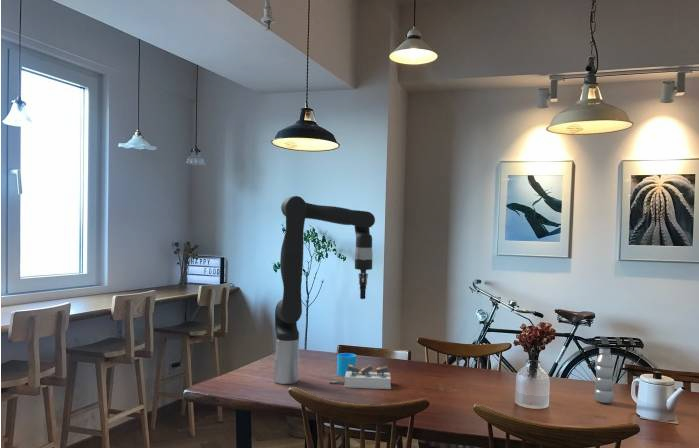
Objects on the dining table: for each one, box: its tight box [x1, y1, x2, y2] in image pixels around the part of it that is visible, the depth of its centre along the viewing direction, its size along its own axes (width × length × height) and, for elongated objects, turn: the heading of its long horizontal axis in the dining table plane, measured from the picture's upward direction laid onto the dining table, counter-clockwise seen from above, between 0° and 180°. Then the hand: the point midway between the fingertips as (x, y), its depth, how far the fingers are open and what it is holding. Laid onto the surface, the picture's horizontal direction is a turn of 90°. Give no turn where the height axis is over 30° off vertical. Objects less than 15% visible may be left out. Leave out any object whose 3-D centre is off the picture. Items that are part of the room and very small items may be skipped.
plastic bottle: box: [593, 347, 615, 404], centre depth 199 cm, size 6×7×20 cm
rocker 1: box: [348, 364, 361, 373], centre depth 216 cm, size 5×3×2 cm
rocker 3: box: [375, 365, 389, 374], centre depth 216 cm, size 5×3×2 cm
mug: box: [336, 352, 357, 377], centre depth 233 cm, size 12×8×8 cm
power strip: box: [329, 371, 392, 390], centre depth 215 cm, size 25×9×5 cm, turn 87°
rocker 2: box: [360, 363, 374, 375], centre depth 216 cm, size 5×3×2 cm
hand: (362, 298), depth 229 cm, fingers closed
